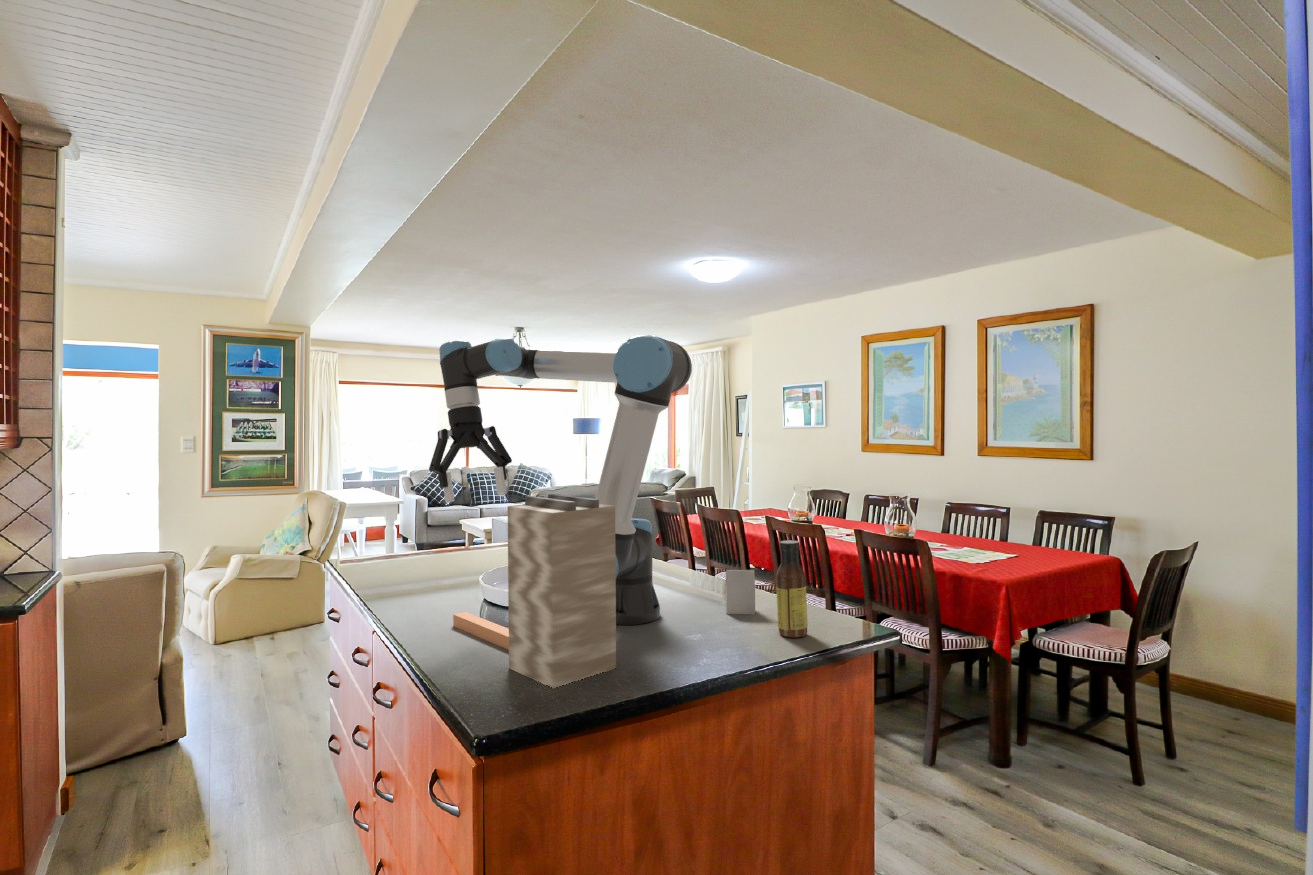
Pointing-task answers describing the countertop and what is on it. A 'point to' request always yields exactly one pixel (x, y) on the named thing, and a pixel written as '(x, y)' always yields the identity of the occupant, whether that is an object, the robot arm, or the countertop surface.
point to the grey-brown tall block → (561, 588)
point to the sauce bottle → (791, 592)
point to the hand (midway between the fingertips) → (476, 498)
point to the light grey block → (740, 592)
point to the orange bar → (482, 628)
